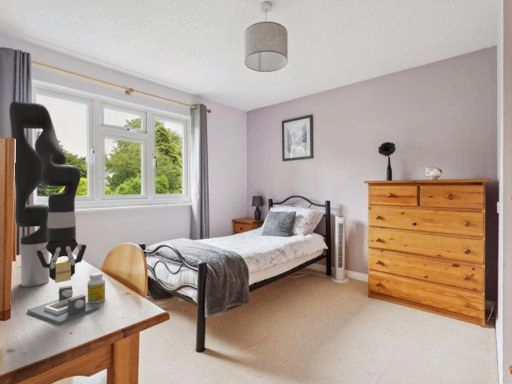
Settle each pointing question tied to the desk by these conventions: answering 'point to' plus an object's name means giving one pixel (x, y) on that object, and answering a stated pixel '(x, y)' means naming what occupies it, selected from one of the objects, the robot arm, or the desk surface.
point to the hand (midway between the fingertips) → (62, 277)
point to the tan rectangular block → (62, 271)
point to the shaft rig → (63, 307)
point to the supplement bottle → (96, 288)
